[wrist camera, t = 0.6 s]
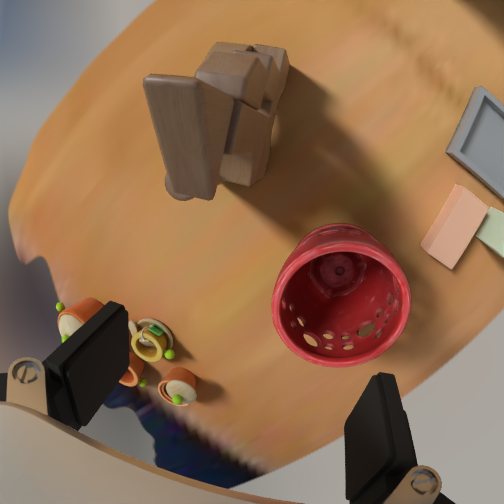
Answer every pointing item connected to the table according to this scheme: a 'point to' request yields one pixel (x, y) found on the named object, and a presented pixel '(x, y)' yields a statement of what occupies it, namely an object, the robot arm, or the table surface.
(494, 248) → the sage block
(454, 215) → the terracotta brick
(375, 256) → the plant pot
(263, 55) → the wooden toy
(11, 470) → the robot arm
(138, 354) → the toy tea set
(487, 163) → the grey tray
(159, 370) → the table surface
